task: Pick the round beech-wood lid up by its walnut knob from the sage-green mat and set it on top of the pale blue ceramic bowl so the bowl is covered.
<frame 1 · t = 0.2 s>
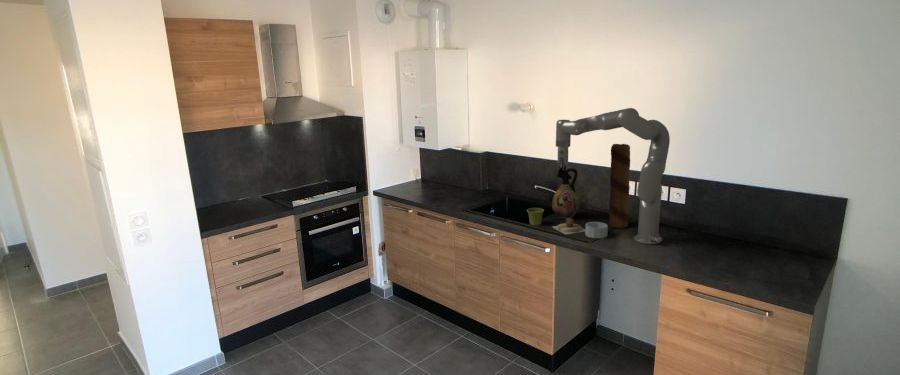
hand: (561, 175, 265), 30 cm above the worktop, tool pointing down, fingers open, 9 cm apart
plant pot: (535, 225, 280), on the worktop
wafer roll: (617, 225, 274), on the worktop
lid: (569, 228, 268), point 1 cm above the worktop, touching mat
bowl: (596, 236, 258), on the worktop
mat: (569, 230, 269), on the worktop
ceramic jug: (566, 217, 291), on the worktop
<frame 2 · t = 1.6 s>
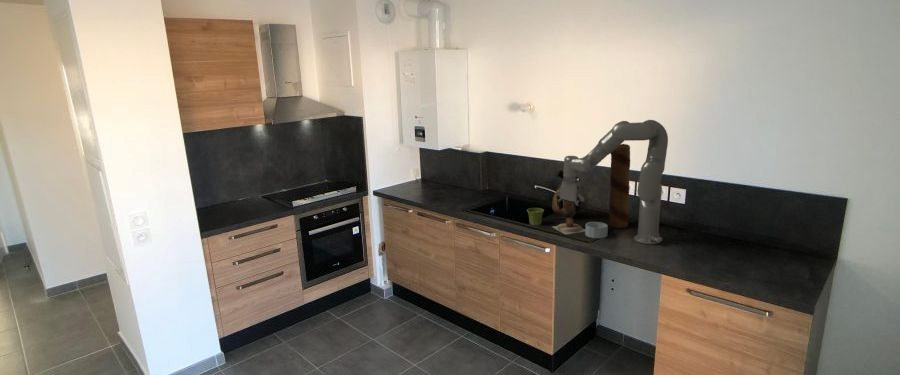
hand: (568, 210, 266), 11 cm above the worktop, tool pointing down, fingers open, 9 cm apart
nothing on the worktop moved.
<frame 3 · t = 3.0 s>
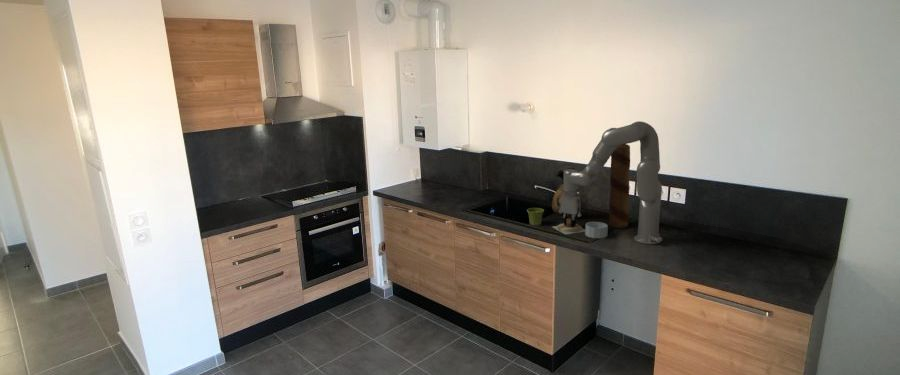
hand: (569, 225, 268), 3 cm above the worktop, tool pointing down, fingers closed on lid, 3 cm apart
lid: (569, 228, 268), point 1 cm above the worktop, touching gripper, mat
everything else where it was.
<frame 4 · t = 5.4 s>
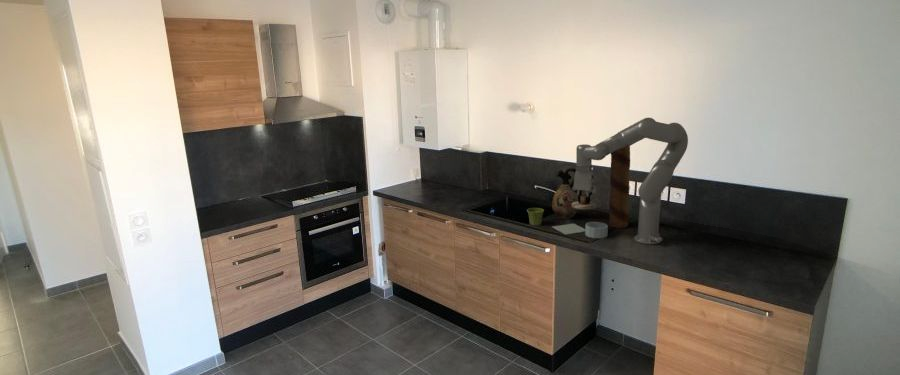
hand: (584, 202, 259), 17 cm above the worktop, tool pointing down, fingers closed on lid, 3 cm apart
lid: (583, 206, 260), point 15 cm above the worktop, touching gripper
everything else where it was.
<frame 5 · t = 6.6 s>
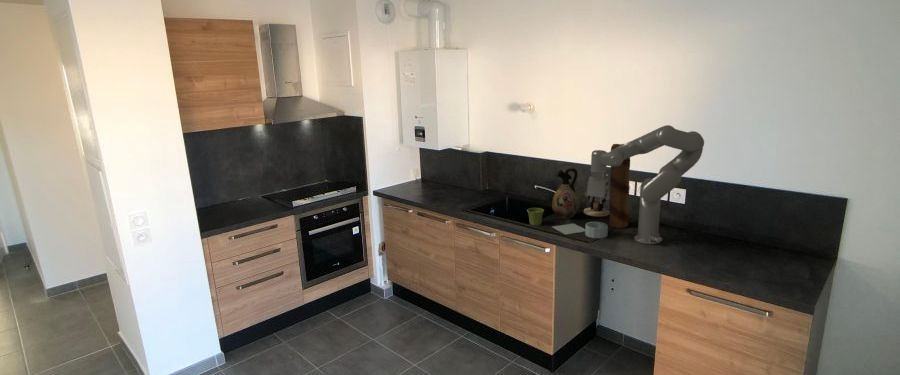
hand: (596, 209, 255), 14 cm above the worktop, tool pointing down, fingers closed on lid, 3 cm apart
lid: (596, 212, 255), point 13 cm above the worktop, touching gripper
everything else where it was.
when the fingers open (9 cm above the worktop, at t = 7.7 s): lid drops 1 cm, resting on bowl.
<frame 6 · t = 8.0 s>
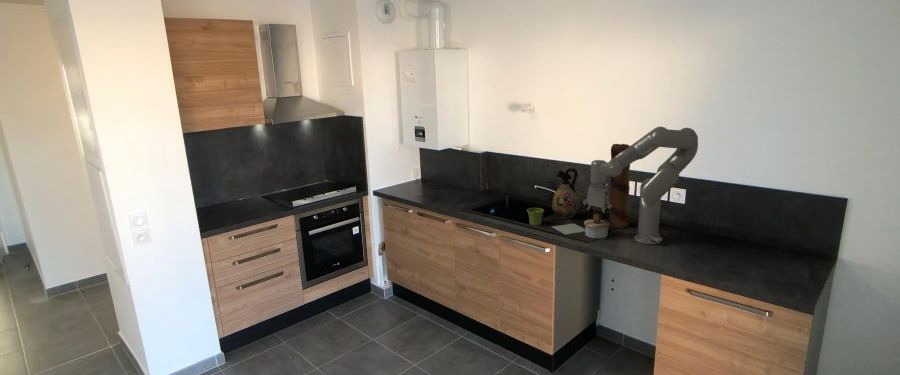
hand: (596, 218, 256), 10 cm above the worktop, tool pointing down, fingers open, 6 cm apart
lid: (596, 225, 256), point 6 cm above the worktop, touching bowl
everything else where it was.
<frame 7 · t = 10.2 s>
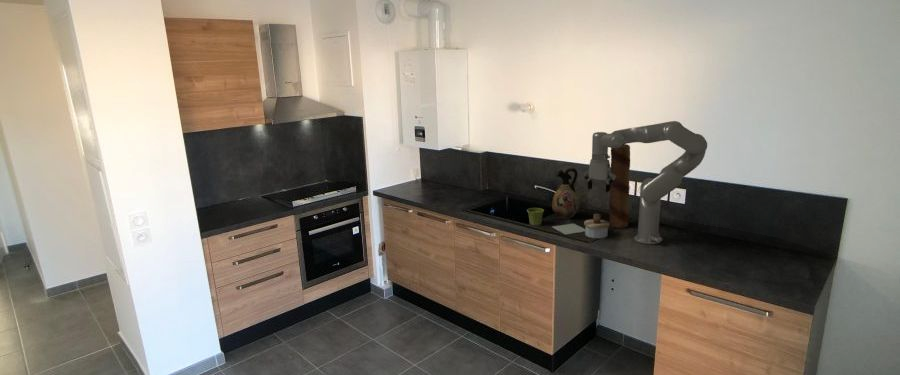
hand: (598, 190, 252), 24 cm above the worktop, tool pointing down, fingers open, 9 cm apart
nothing on the worktop moved.
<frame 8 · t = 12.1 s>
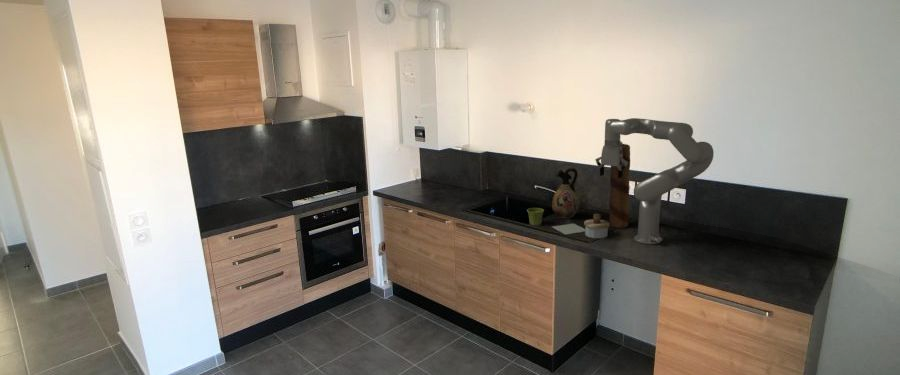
hand: (610, 176, 256), 30 cm above the worktop, tool pointing down, fingers open, 9 cm apart
nothing on the worktop moved.
at the end: lid 0.1 cm off-centre on the bowl, point 6.0 cm above the bowl's base; lid tilted 0°; the gripper is holding nothing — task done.
